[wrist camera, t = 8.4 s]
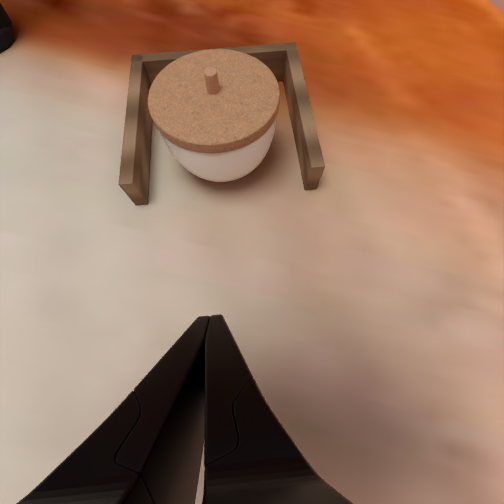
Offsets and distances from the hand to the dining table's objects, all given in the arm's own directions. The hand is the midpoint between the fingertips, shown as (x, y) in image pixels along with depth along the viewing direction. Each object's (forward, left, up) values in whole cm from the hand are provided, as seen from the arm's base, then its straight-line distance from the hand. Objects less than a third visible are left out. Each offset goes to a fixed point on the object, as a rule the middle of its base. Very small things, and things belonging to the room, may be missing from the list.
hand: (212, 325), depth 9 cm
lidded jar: (+14, -13, -13) cm, 23 cm away
